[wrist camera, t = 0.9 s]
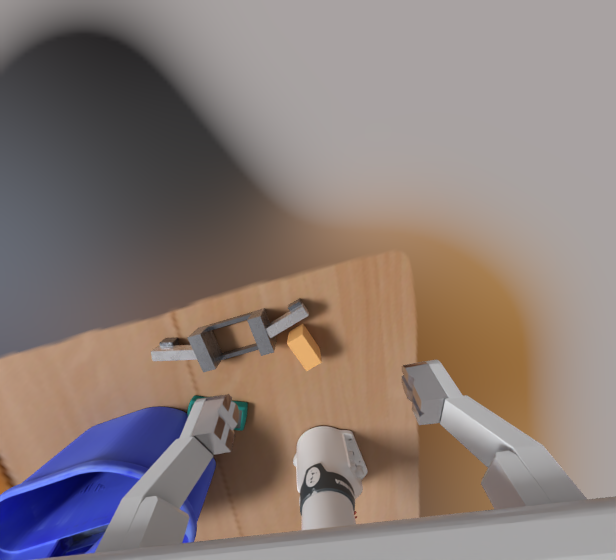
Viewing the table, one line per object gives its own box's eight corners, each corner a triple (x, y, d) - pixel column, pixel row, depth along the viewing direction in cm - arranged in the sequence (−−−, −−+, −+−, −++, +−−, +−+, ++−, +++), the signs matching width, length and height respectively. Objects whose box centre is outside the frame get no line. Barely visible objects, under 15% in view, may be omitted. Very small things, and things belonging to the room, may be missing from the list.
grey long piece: (304, 296, 51) (304, 303, 46) (315, 330, 53) (316, 340, 48) (160, 339, 53) (145, 350, 48) (175, 370, 55) (163, 383, 50)
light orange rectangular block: (319, 348, 54) (321, 362, 48) (306, 356, 55) (306, 371, 49) (302, 323, 53) (302, 334, 47) (289, 331, 53) (287, 343, 47)
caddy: (44, 436, 59) (-122, 566, 36) (191, 383, 56) (112, 488, 33) (107, 516, 65) (1, 669, 42) (242, 473, 62) (206, 612, 39)
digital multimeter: (192, 393, 57) (186, 401, 54) (249, 400, 58) (246, 409, 55) (191, 416, 59) (185, 426, 56) (246, 423, 59) (243, 433, 56)
